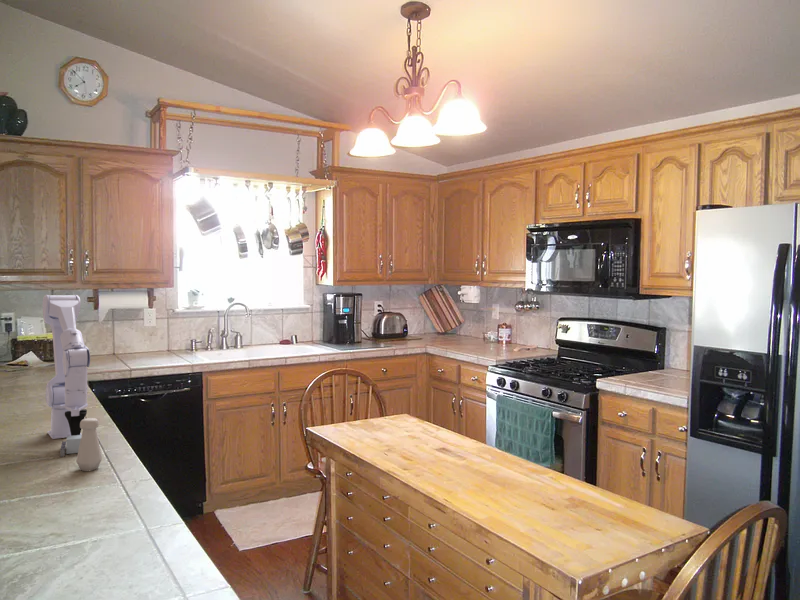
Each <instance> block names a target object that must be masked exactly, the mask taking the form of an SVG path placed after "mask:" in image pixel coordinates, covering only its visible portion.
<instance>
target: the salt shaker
mask: <svg viewBox="0 0 800 600" xmlns="http://www.w3.org/2000/svg"><path fill="white" fill-rule="evenodd" d="M99 421H100V420H99V419H97V418H95V417H88V418H86V417H85V418H84V419H83V420H82V421H81V422H80V428H81V430H82V431H81V434H82V437H81V441H80V446H79V450H78V453H77V456H76V459H75V460H76V464H77V465H78V468H79V471H81V470H82V472H89V470H91V471H94V470H97V469H99V467H100V464H101V462H102V459H103V457H102V451H101V446H100V442H99V436H98V431H97V428H98V427H99V425H100V422H99ZM96 468H97V469H96Z"/></svg>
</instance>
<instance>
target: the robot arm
mask: <svg viewBox="0 0 800 600" xmlns="http://www.w3.org/2000/svg"><path fill="white" fill-rule="evenodd" d="M81 306H82V305H81V298H80V296H79V295H78V294H73V295H72V294H70V295H68V294H67V295H65V294H61V295H58V294H53V295H51V294H45V295H44V296H43V298H42V318H43V320H44V323H45V324H47V325H49V326H50V330H51V332H52V345H53V361H54V371H55V372H54V373H55V374H54V376H53V377H52V378H51V379H49V380H48V381H47V384H46V387H45V401H46V405H47V406H48V407H49V408H51V413H50V430H47V434H48V436H49V437H50V438H51V439H52V440H56V439H62V438H64V439H65V438H67V436H74V435H82V429H81V428H80V422H81V421H82V420H83V419H86V416H87V414H88V413H87V412H88V409H86V408H88V407H89V404H88V368H89V367H90V364H91V352H90V349H89V347H87V345H86V344H85V341H84V337H83V334H82V331H81V330H80V329H77V319H78V317H79V314H80V312H81Z"/></svg>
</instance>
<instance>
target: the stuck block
mask: <svg viewBox="0 0 800 600" xmlns="http://www.w3.org/2000/svg"><path fill="white" fill-rule="evenodd" d="M81 437H82V435H74V436H67V437H66V440H65V441H66V451H65V455H66V454H69V455H70V454H78V450H79V446H80V441H81Z"/></svg>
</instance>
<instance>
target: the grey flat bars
mask: <svg viewBox="0 0 800 600" xmlns="http://www.w3.org/2000/svg"><path fill="white" fill-rule="evenodd" d="M59 450H60V452H59V454H60V455H59V457H60V458H64V457H63V456H66V440H64V441H61V446H60V449H59Z"/></svg>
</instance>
